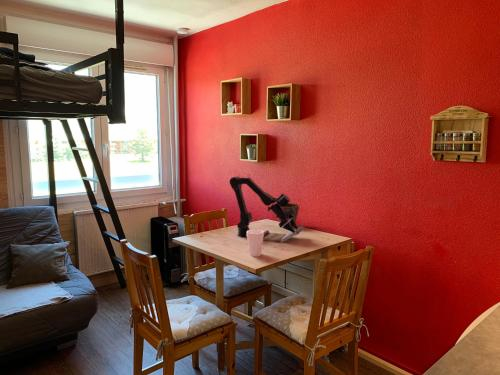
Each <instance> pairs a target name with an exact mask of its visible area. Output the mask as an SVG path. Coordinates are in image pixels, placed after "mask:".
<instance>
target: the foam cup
mask: <svg viewBox="0 0 500 375" xmlns="http://www.w3.org/2000/svg"><path fill="white" fill-rule="evenodd" d="M264 232H265V231H264V230H262V229H249V230H248V231H247V237H246V239H247V247H248V253H249V256H250V257H259V256H261V255H262V249H263V243H264V241H263V236H264Z"/></svg>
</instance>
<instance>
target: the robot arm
mask: <svg viewBox="0 0 500 375" xmlns="http://www.w3.org/2000/svg"><path fill="white" fill-rule="evenodd" d="M229 185H230V186H231V188H232V190H233V191H234V194H235V198H236V201H237V205H238V209H239V212H240V215H239V220H240V222H238V223H237V224H236V227H237V228H238V229H237V233H238V234H237V235H238V236H237V237H240V238H247V231H248V230H250V227H249V226H250V225H251V223H252V222H253V216H252V212H251V211H250V212H249V211H248V209H247V206H246V205H247V204H246V202H245V201H246V200H245V198H244V193H243V190H242V186H243V185H246V186H248V188H250V189H251V190H252V191H253V192H254V193H255V194H256V195H257V196H258V197H259V199H260V200H261V202H262V203H263V205H264V206H267V212H270V211H271V212H272V213H273V214H274V215H275V217H276V218H277V219H279V223H278V227H280V228H282V229H284V230H287V231H289V232H293V233H294V232H295V231H294V230H296V229H298V228H299V227H298V225H297V223H296V222H295V221H294V218H295V217H294V215H293V214H294V213H296V211H295V209H294V208H293V207H290V208H289V210H287V211H286V210H283V209H282V208H281V207H285V206H286V205H287V204H288V203H291V199H290V197H289V196H288V195H286V194H285V193H282V194H280V196H279V197H274V196H272V195H271V194H270V193H268V192H266V191H264V190H263V189H262V188H261V187H260V186H259V185H258V184H257V183H256V182H254V180H253V179H252V178H251V177H249V176H248V177H240V176H233V177H231V178H230V180H229ZM292 227H293V228H292Z"/></svg>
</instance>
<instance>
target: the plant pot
mask: <svg viewBox="0 0 500 375" xmlns="http://www.w3.org/2000/svg"><path fill="white" fill-rule="evenodd" d="M290 207H293V208H294V209H295V211H296V213H294V214H293V215H294V217H295V218H294V221H295V223H296V222H297V218H298V214H299V209H300V205H299V204H297V203H291V202H289V203H288V204H287V205H286V206H285V207H281V208H282V209H283V210H286V211H287V210H289V208H290ZM292 228H293V229H294V227H292Z"/></svg>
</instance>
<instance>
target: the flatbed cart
mask: <svg viewBox="0 0 500 375" xmlns="http://www.w3.org/2000/svg"><path fill="white" fill-rule="evenodd" d="M286 234H287V233H279V232H278V233H276V232H270V230H269V229H267V230H265V231H264V236H263V242H269V243H279V244H280V243H281V241H280V240H281V239H282V238H283V237H284V236H285V235H286Z"/></svg>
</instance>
